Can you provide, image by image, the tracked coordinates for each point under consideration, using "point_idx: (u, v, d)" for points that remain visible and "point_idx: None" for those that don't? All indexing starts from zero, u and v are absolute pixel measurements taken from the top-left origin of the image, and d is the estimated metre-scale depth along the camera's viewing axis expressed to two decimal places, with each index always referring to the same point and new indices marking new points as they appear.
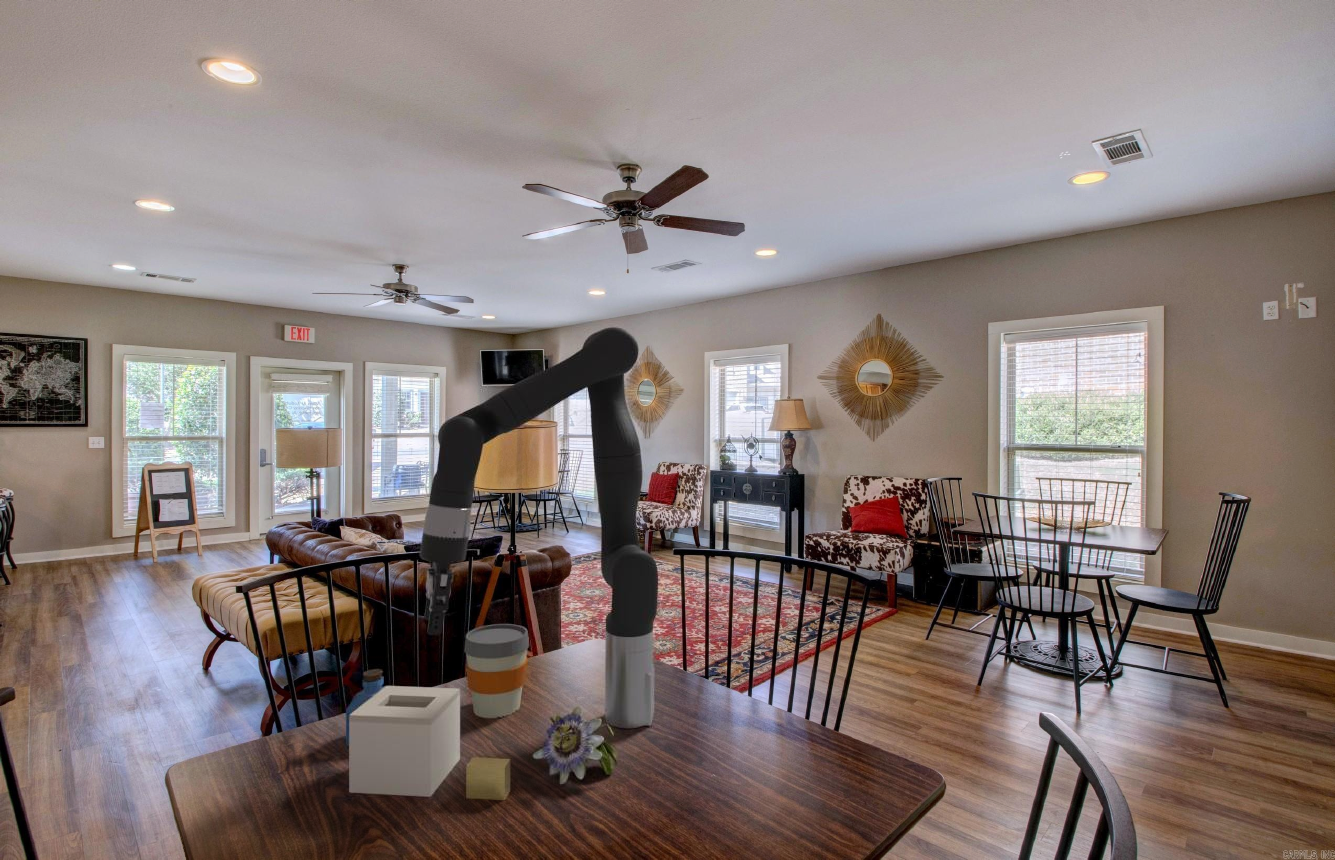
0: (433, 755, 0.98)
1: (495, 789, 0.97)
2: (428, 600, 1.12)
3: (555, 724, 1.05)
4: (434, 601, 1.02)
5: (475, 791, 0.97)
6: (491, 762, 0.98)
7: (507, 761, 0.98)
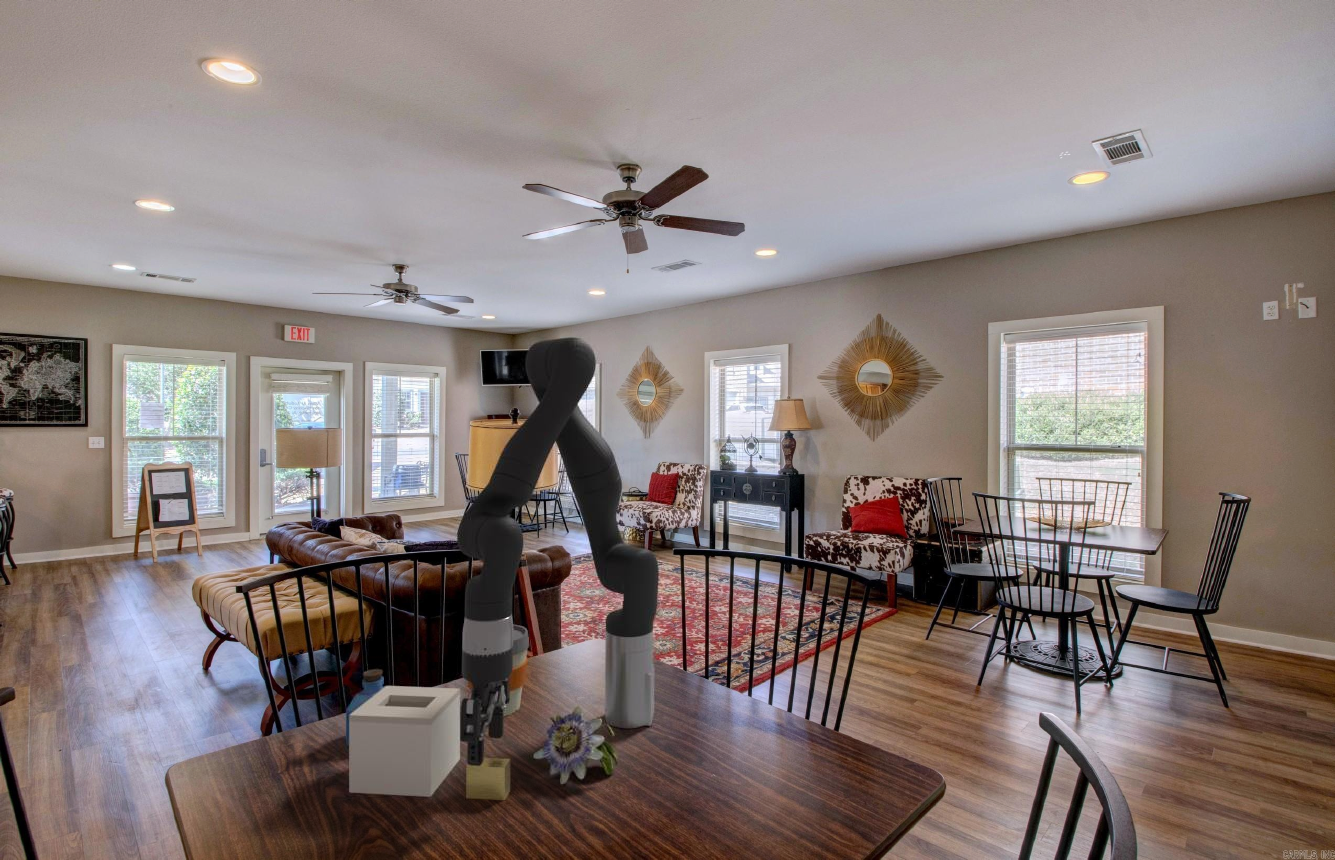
0: (433, 755, 0.98)
1: (495, 789, 0.97)
2: None
3: (555, 724, 1.05)
4: (462, 731, 0.91)
5: (475, 791, 0.97)
6: (491, 762, 0.98)
7: (507, 761, 0.98)
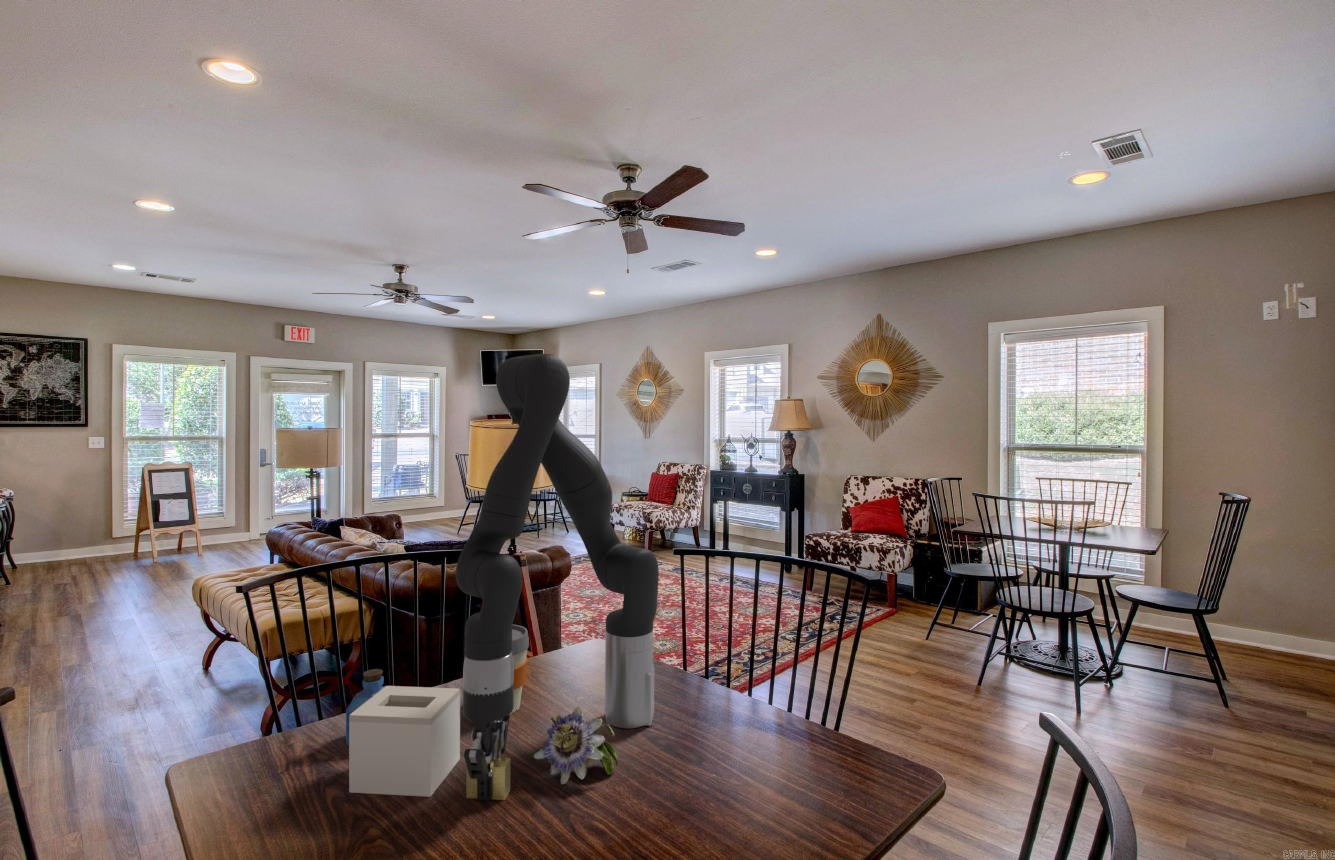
0: (433, 755, 0.98)
1: (495, 789, 0.96)
2: None
3: (556, 724, 1.05)
4: (470, 773, 0.93)
5: (475, 790, 0.97)
6: None
7: (507, 760, 0.98)
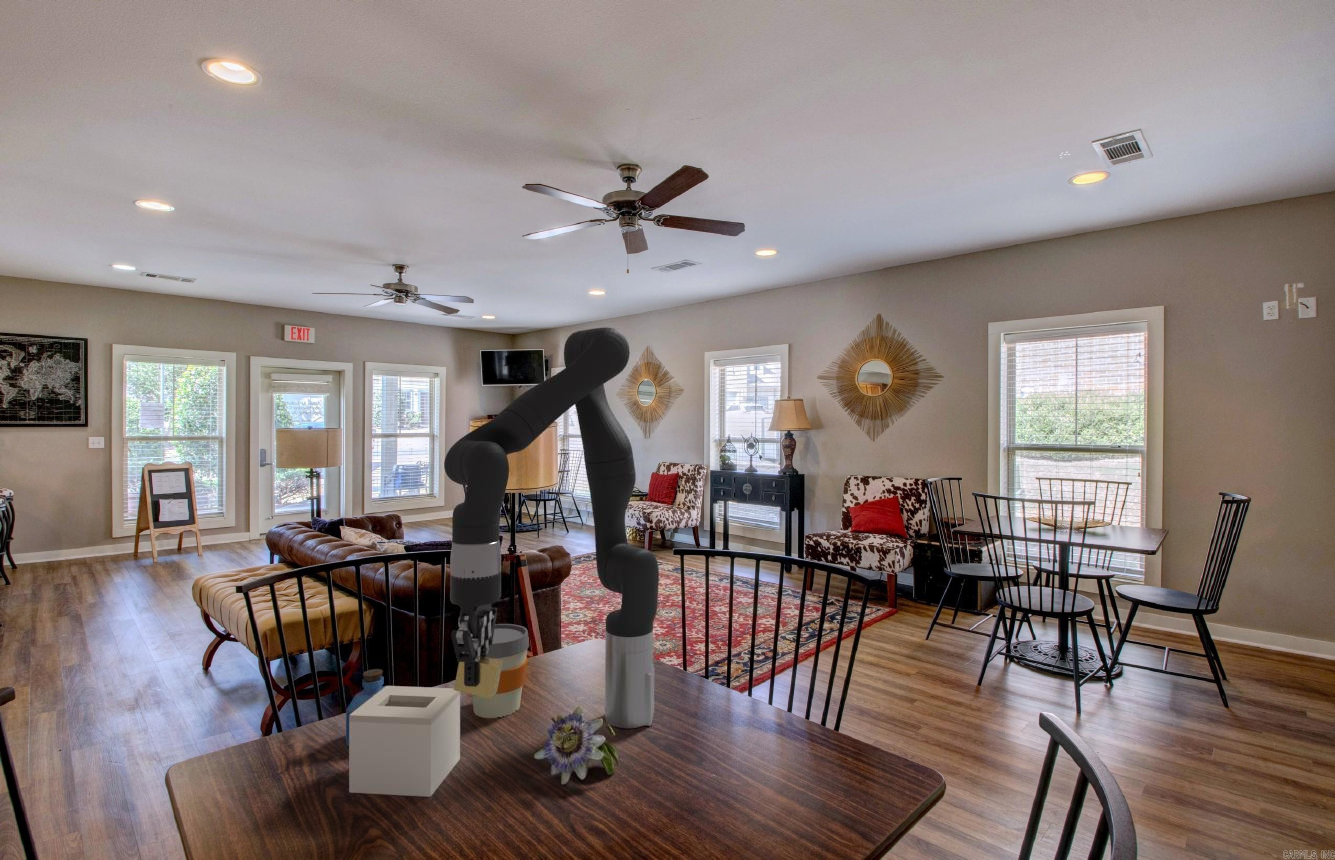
0: (433, 755, 0.98)
1: (484, 686, 0.97)
2: None
3: (556, 724, 1.05)
4: (457, 656, 0.94)
5: None
6: (484, 660, 0.98)
7: (500, 661, 0.99)
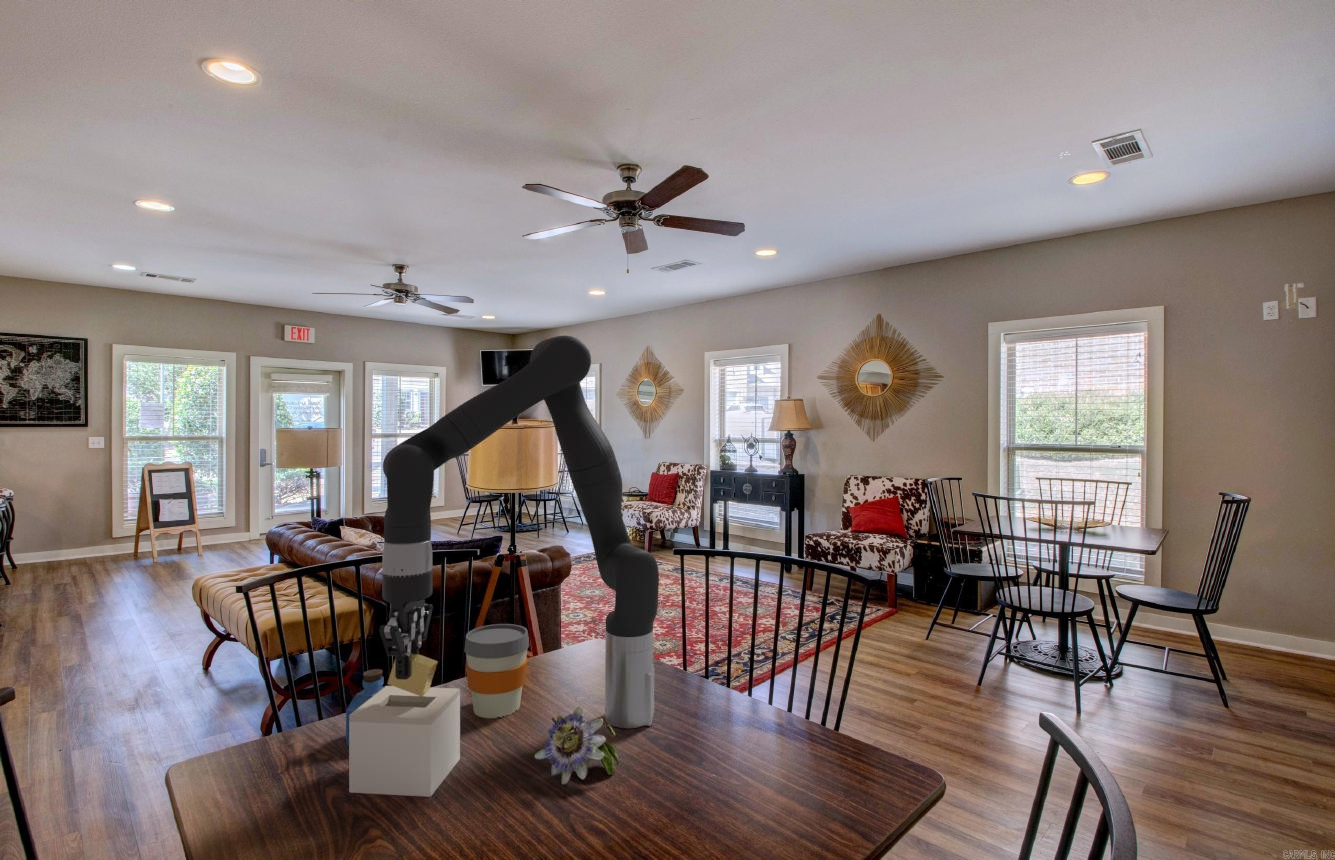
0: (433, 755, 0.98)
1: (416, 684, 1.01)
2: None
3: (557, 724, 1.05)
4: (386, 650, 0.98)
5: (398, 679, 1.02)
6: (420, 659, 1.03)
7: (435, 662, 1.03)
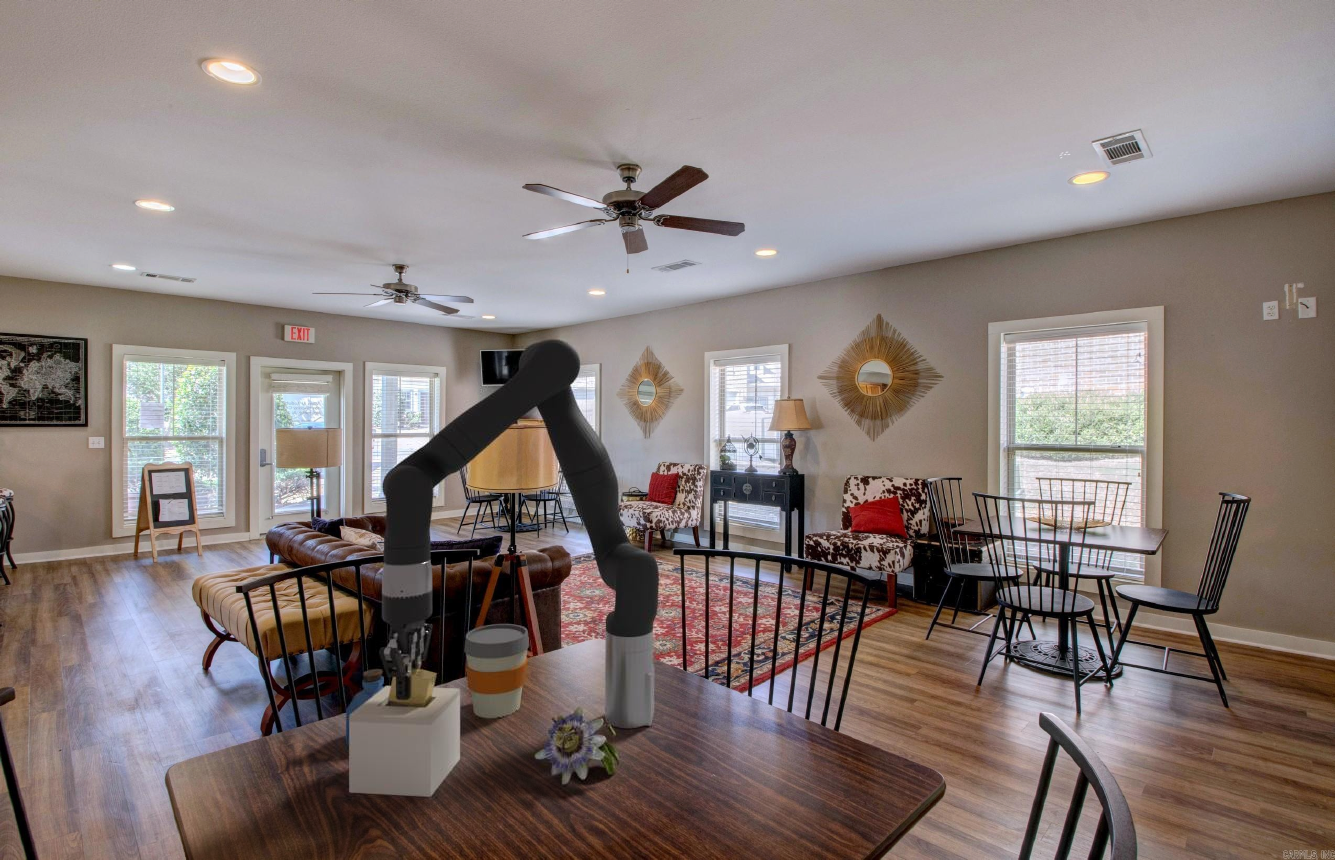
0: (433, 755, 0.98)
1: (416, 697, 1.02)
2: None
3: (557, 724, 1.05)
4: (387, 671, 0.99)
5: None
6: (418, 672, 1.03)
7: (434, 674, 1.03)
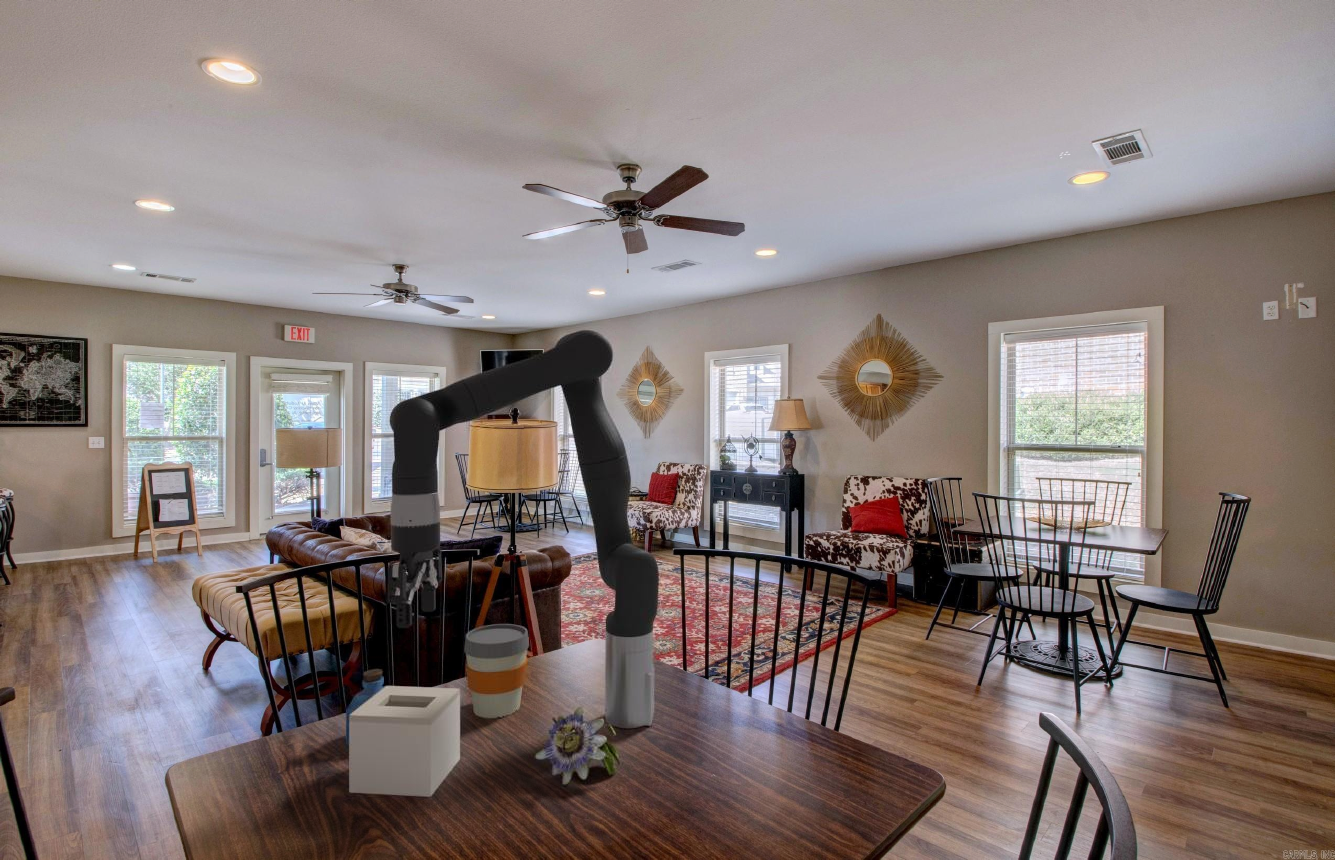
0: (433, 755, 0.98)
1: None
2: (422, 591, 1.08)
3: (557, 724, 1.05)
4: (388, 593, 0.97)
5: None
6: None
7: None
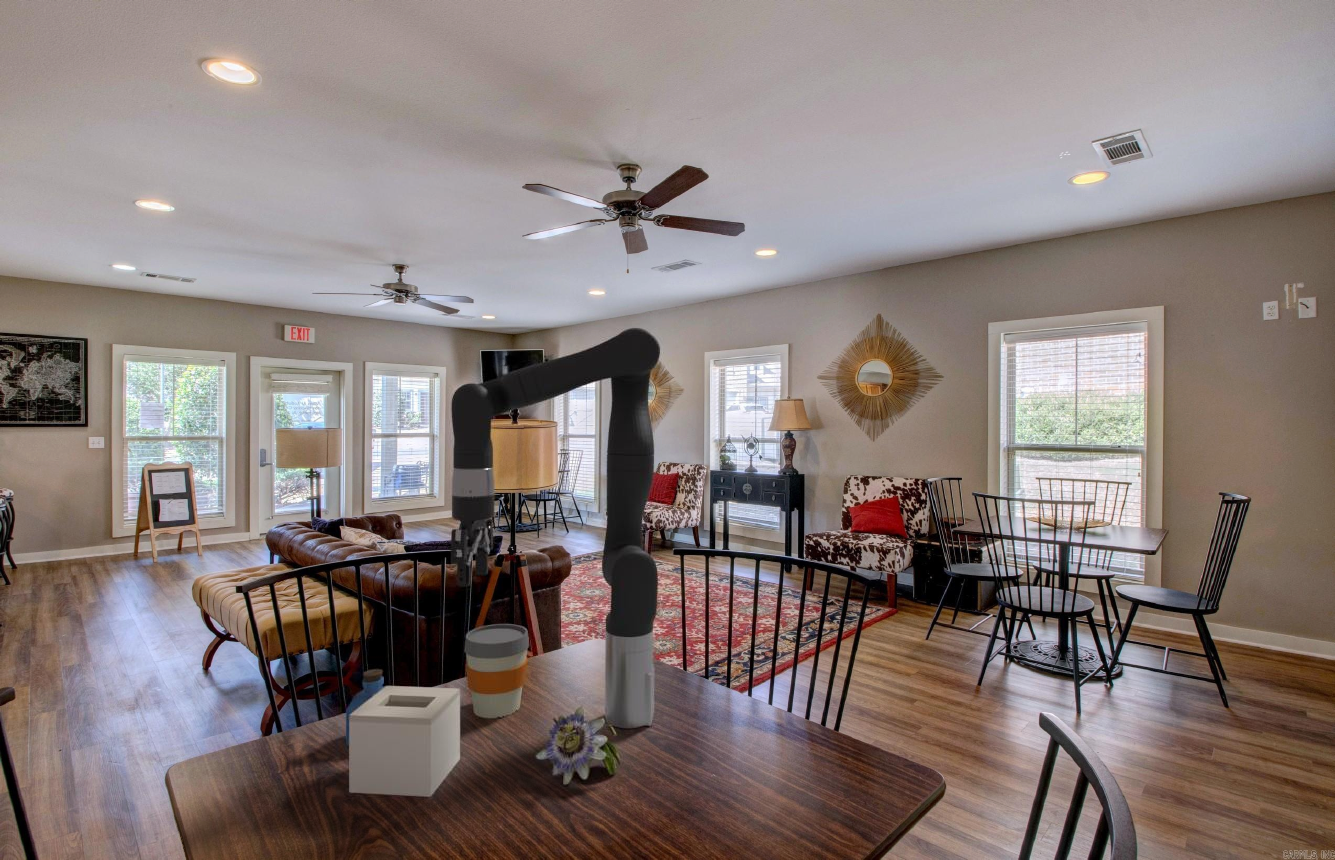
0: (433, 755, 0.98)
1: None
2: (476, 557, 1.21)
3: (558, 724, 1.05)
4: (452, 555, 1.10)
5: None
6: None
7: None
